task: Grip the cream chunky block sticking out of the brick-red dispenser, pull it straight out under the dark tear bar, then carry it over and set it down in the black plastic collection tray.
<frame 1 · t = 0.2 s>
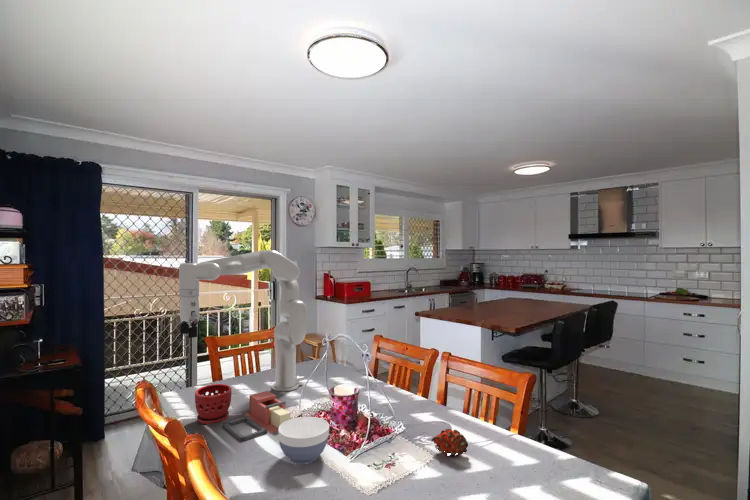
hand: (188, 335, 161), 31 cm above the table, tool pointing down, fingers open, 9 cm apart
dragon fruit: (449, 454, 128), on the table
dispenser: (266, 418, 155), on the table
cream chunky block: (278, 423, 148), point 1 cm above the table, touching dispenser
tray: (244, 432, 143), on the table
plant pot: (213, 420, 153), on the table
bowl: (303, 457, 126), on the table
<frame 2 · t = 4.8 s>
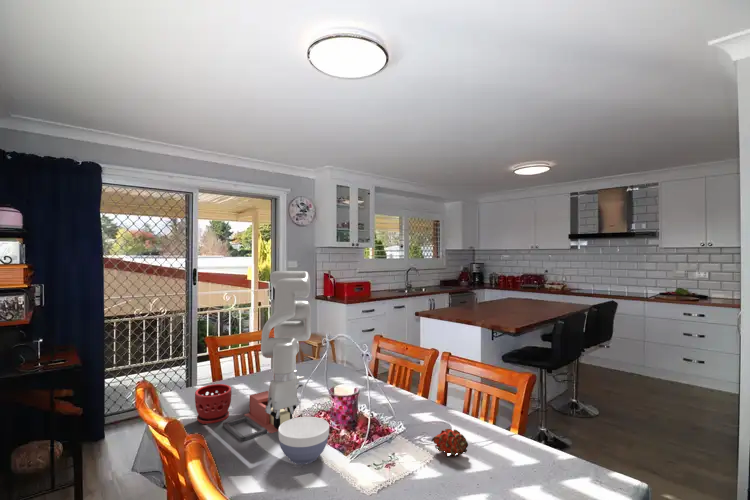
hand: (282, 425, 145), 1 cm above the table, tool pointing down, fingers closed on cream chunky block, 4 cm apart
cream chunky block: (278, 423, 148), point 1 cm above the table, touching dispenser, gripper
everything else where it was.
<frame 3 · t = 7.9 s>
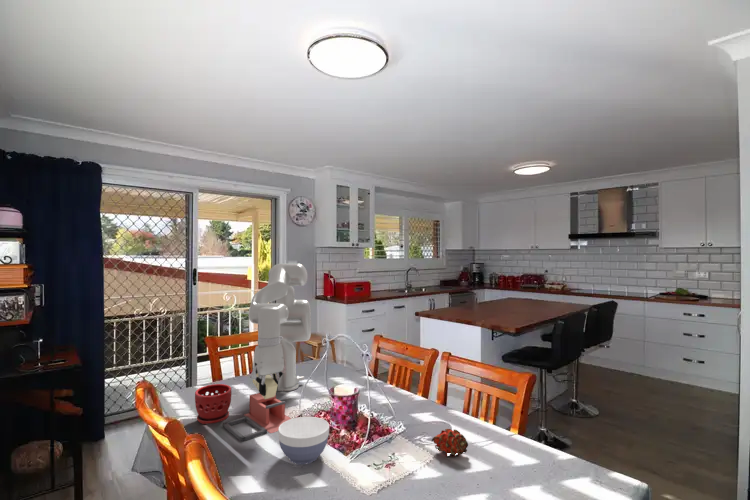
hand: (268, 392, 141), 15 cm above the table, tool pointing down, fingers closed on cream chunky block, 4 cm apart
cream chunky block: (263, 389, 144), point 15 cm above the table, tilted 24°, touching gripper
everything else where it was.
when the fingers open (2 cm above the table, at t = 11.0 s): cream chunky block drops 2 cm, resting on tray.
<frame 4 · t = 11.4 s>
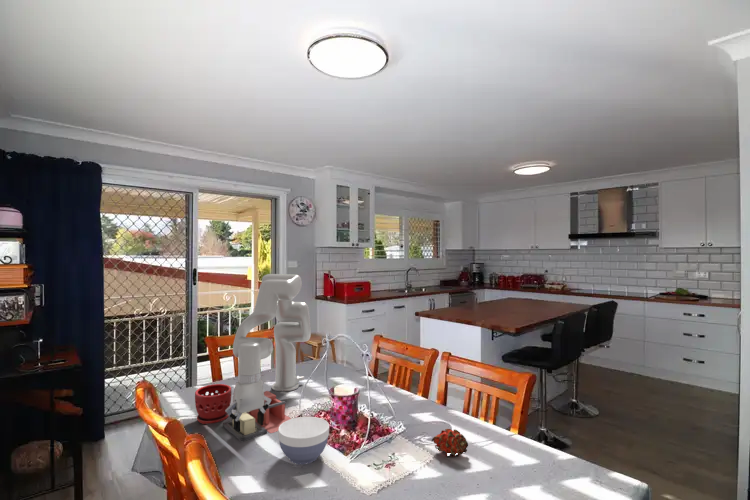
hand: (249, 427, 140), 3 cm above the table, tool pointing down, fingers open, 8 cm apart
cream chunky block: (243, 429, 143), point 1 cm above the table, touching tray
everything else where it was.
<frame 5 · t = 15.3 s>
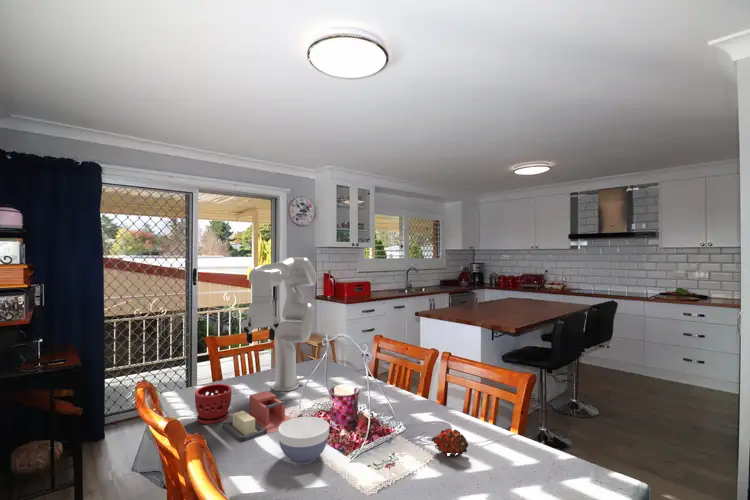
hand: (260, 341, 163), 28 cm above the table, tool pointing down, fingers open, 9 cm apart
nothing on the table moved.
at the end: cream chunky block inside the target area on the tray (0.8 cm from its centre), point 0.6 cm above the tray's base; the gripper is holding nothing; cream chunky block touching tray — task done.
